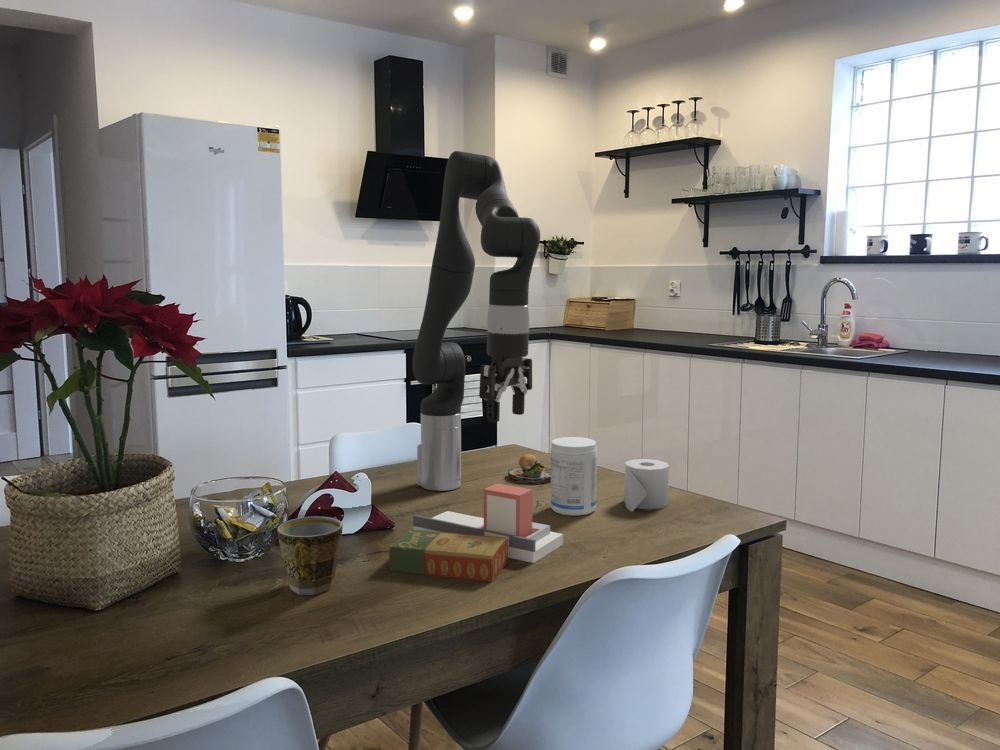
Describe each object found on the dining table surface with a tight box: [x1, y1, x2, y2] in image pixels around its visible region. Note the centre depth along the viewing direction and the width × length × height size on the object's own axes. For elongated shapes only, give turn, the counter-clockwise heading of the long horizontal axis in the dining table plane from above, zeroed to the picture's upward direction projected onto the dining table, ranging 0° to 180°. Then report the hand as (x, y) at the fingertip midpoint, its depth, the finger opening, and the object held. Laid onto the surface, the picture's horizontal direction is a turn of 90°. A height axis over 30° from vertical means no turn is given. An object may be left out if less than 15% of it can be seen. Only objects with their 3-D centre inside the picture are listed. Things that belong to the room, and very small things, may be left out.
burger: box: [507, 450, 551, 485], centre depth 194 cm, size 12×12×8 cm
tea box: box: [483, 483, 533, 538], centre depth 145 cm, size 5×8×9 cm, turn 58°
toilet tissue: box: [623, 458, 670, 513], centre depth 172 cm, size 9×13×9 cm
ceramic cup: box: [277, 516, 344, 596], centre depth 126 cm, size 13×10×10 cm
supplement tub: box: [550, 436, 598, 517], centre depth 168 cm, size 10×10×15 cm
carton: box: [388, 528, 509, 583], centre depth 137 cm, size 10×18×5 cm, turn 74°
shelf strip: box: [412, 510, 564, 564], centre depth 150 cm, size 26×11×4 cm, turn 58°
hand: (506, 417), depth 148 cm, fingers open, 8 cm apart
